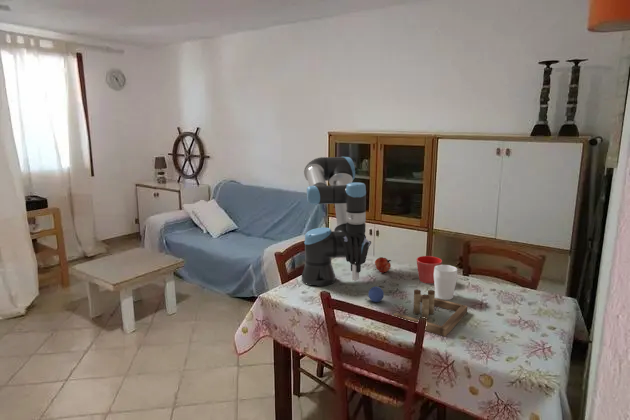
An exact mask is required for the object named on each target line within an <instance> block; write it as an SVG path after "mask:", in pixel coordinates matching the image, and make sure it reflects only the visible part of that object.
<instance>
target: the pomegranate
mask: <svg viewBox="0 0 630 420" xmlns="http://www.w3.org/2000/svg"><path fill="white" fill-rule="evenodd" d="M391 262H392V260H391V259H388V258H386V257H383V256H382V257H381V256H379V257H378V258H376V260H375V261H374V265H375V269H374V271H376V270H378V271H379V273H382V274H384V272H385V273H387V272H388V271H390V269H391V267H392V265H391Z"/></svg>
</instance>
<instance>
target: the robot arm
mask: <svg viewBox="0 0 630 420" xmlns="http://www.w3.org/2000/svg"><path fill="white" fill-rule="evenodd" d="M355 168H356V167H355V163H354V161H353V159H352V158H351V157H349V156H328V157H326V156H323V157H322V156H321V157H317V158H314V159H312V160H310V161H309V162H307V164H306V166H305V167H304V171H303V175H304V177H305V178H304V179H305V180H306V181H307V183H308V186H307V187H306V200H307V201H306V202H307V203H308V204H309V205H332V204H333V205H334V209H335V218H336V219H335V220H336V226H335V227H334V231H332V229H331V228H330V227H317V228H313V229H310V230H308V231H307V232H305V234H304V242H303V243H304V265H303V267H304V268H303V270H302V272H301V273H302V274H301V282H302V281H303V282H304V283H307V284H311V285H317V286H316V287H325V286H324V285H326V286H329V284H330V285H332V284H334V283H335V282H336V274H335V270H334V268H333V265H332V258H333V259H334V258H338V259H339V258H345V261H346V262H348V263H350V271H351V272H352V273H351V274H352V275H351V277H352V278H351V279H352V281H354V282H356V281H358V280H359V279H360V273H361V271H362V270H361V269H362V268H361V267H362V266H361V265H363V264H365V263H366V260H367V257H368V256H367V255H368V253H369V252H368V251H369V247H370V245H371V244H372V241H371V240H369V239H367V236H366V226H367V225H366V220H367V219H366V217H367V216H366V215H367V213H366V211H367V210H366V207H367V206H366V205H367V200H366V199H367V198H366V195H367V190H366V189H367V188H366V184H365V183H364V182H355V181H354V179H355V178H356V170H355ZM327 182H328V183H329V185H328V184H327ZM303 282H302V283H303ZM304 283H303V284H304Z"/></svg>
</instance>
